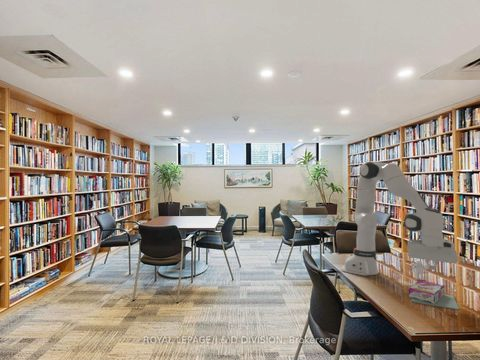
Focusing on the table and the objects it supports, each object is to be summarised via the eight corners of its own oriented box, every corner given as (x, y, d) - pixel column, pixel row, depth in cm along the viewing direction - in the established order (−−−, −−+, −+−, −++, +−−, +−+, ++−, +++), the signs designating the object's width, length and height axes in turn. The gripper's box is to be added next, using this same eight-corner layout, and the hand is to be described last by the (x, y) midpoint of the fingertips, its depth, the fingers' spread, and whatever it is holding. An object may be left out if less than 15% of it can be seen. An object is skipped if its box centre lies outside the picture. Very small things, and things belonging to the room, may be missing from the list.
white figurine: (410, 278, 164) (410, 258, 165) (411, 277, 168) (410, 257, 168) (429, 281, 159) (428, 260, 160) (429, 279, 163) (428, 259, 163)
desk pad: (411, 301, 132) (411, 300, 132) (410, 290, 147) (410, 289, 147) (459, 310, 123) (459, 308, 123) (453, 296, 137) (453, 295, 137)
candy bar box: (444, 284, 139) (435, 293, 128) (444, 294, 139) (435, 304, 128) (419, 279, 147) (408, 287, 136) (419, 288, 147) (408, 297, 136)
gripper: (407, 239, 140) (407, 267, 140) (458, 245, 129) (458, 274, 129) (407, 237, 146) (407, 264, 145) (456, 242, 135) (456, 271, 134)
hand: (431, 269), depth 137 cm, fingers closed
